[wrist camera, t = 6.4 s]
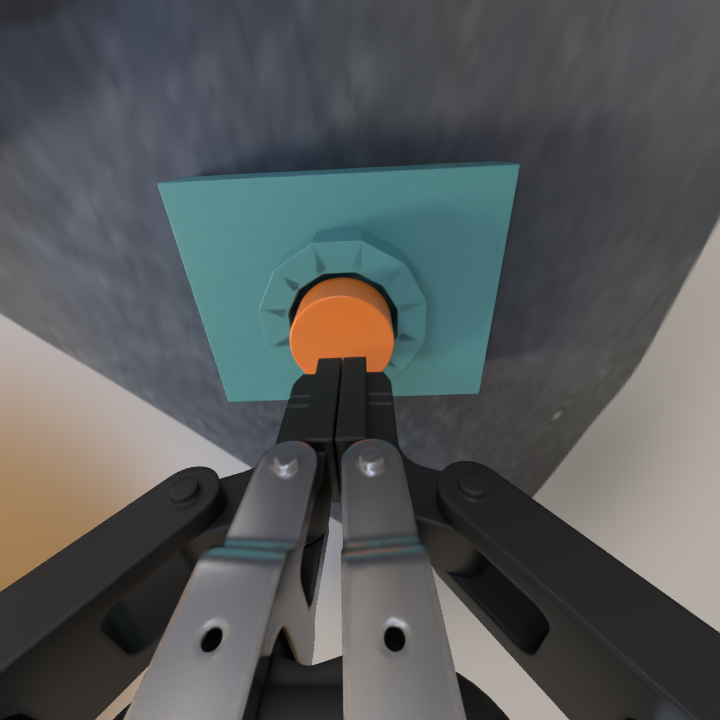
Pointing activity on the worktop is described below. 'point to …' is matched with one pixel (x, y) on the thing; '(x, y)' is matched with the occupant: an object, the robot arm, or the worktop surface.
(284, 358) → the button base
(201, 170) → the worktop surface
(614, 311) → the worktop surface
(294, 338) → the orange button cap
